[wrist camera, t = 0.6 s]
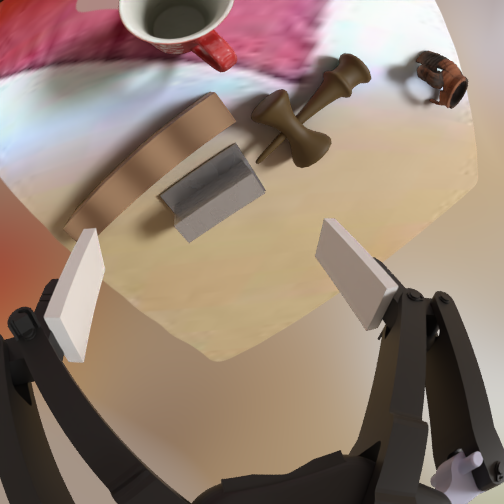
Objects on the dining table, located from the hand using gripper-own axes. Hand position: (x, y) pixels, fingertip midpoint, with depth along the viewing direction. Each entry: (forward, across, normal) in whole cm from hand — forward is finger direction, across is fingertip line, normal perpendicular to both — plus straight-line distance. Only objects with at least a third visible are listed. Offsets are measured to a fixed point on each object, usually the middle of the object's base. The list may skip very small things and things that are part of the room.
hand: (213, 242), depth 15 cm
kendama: (+23, +14, +7) cm, 28 cm away
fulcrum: (+22, +3, -6) cm, 23 cm away
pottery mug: (+23, +37, +18) cm, 47 cm away
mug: (+23, -2, +15) cm, 27 cm away
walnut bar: (+23, -7, -1) cm, 24 cm away
